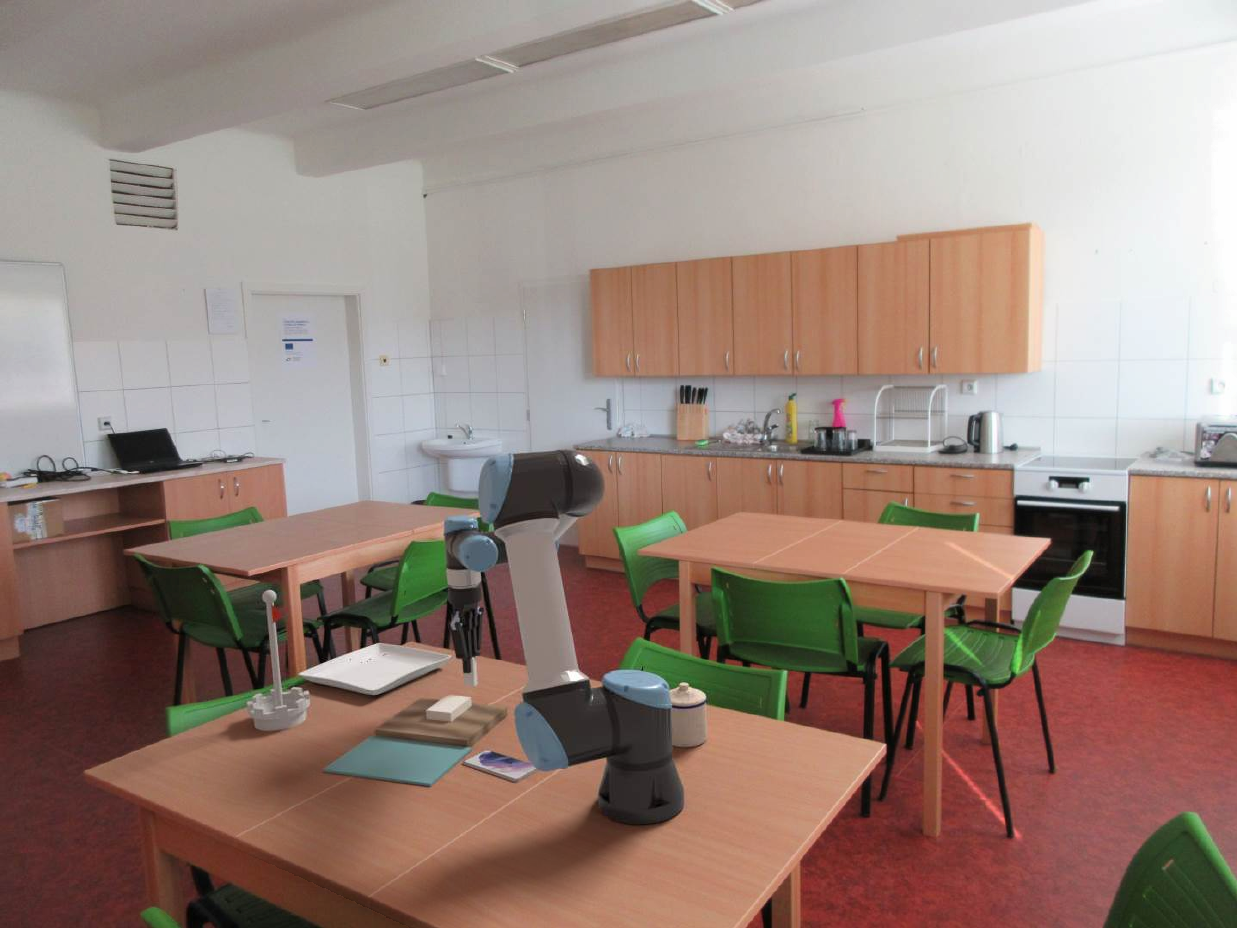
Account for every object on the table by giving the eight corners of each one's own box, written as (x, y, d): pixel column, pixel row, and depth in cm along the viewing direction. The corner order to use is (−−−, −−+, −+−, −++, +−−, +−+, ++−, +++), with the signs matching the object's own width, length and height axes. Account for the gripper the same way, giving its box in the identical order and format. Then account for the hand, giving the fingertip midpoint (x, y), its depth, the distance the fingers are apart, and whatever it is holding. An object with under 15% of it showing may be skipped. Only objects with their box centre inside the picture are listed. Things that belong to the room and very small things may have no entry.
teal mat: (430, 786, 171) (430, 783, 171) (323, 771, 180) (323, 769, 179) (472, 749, 186) (472, 747, 186) (371, 737, 194) (371, 735, 194)
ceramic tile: (451, 721, 196) (450, 712, 196) (426, 718, 198) (426, 710, 198) (471, 705, 205) (471, 697, 204) (447, 703, 207) (447, 694, 206)
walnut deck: (467, 749, 187) (467, 740, 186) (375, 738, 194) (374, 729, 194) (507, 715, 203) (507, 706, 203) (421, 706, 211) (420, 697, 211)
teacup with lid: (715, 734, 189) (714, 680, 187) (694, 752, 181) (692, 695, 180) (665, 723, 195) (663, 670, 194) (642, 740, 188) (640, 685, 186)
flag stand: (238, 723, 206) (226, 592, 202) (293, 704, 215) (282, 579, 211) (266, 737, 197) (253, 601, 193) (322, 718, 206) (310, 588, 203)
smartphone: (486, 748, 186) (542, 766, 177) (486, 752, 186) (542, 770, 177) (460, 761, 180) (516, 780, 171) (460, 765, 180) (516, 784, 171)
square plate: (454, 668, 237) (453, 653, 236) (374, 705, 214) (373, 689, 213) (379, 653, 251) (378, 639, 251) (297, 686, 228) (295, 671, 228)
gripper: (463, 576, 215) (470, 673, 218) (434, 591, 203) (441, 693, 206) (492, 577, 212) (498, 676, 215) (464, 593, 200) (471, 696, 203)
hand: (470, 684), depth 211 cm, fingers closed
